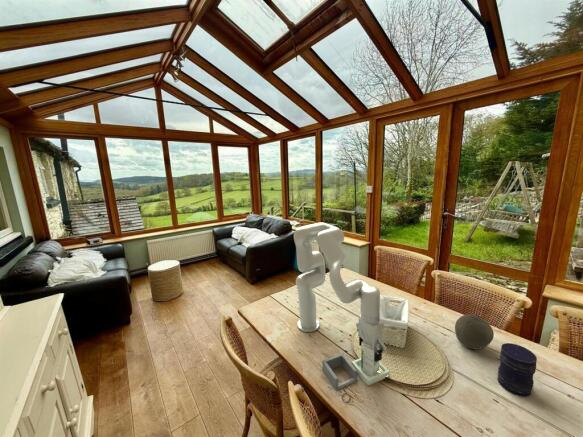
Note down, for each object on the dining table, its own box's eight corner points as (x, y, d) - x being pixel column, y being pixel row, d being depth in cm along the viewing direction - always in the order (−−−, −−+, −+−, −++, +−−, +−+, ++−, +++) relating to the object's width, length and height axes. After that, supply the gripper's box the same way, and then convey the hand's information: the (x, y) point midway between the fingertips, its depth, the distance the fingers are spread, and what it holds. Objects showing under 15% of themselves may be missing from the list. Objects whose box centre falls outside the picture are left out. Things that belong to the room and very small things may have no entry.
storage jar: (495, 386, 91) (499, 353, 88) (498, 370, 98) (502, 339, 95) (531, 403, 84) (537, 367, 81) (532, 385, 91) (537, 351, 88)
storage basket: (378, 316, 139) (378, 293, 136) (408, 323, 131) (409, 299, 129) (371, 342, 118) (371, 316, 115) (407, 352, 111) (408, 324, 108)
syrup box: (366, 362, 105) (366, 334, 103) (379, 369, 101) (380, 340, 99) (360, 370, 101) (360, 341, 98) (374, 378, 97) (374, 347, 94)
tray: (351, 366, 105) (351, 361, 104) (371, 358, 108) (371, 353, 108) (368, 386, 94) (368, 381, 94) (389, 376, 98) (389, 371, 98)
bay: (322, 370, 103) (322, 360, 102) (342, 362, 107) (342, 352, 106) (335, 390, 94) (335, 379, 93) (357, 380, 97) (357, 370, 96)
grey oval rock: (475, 360, 104) (478, 330, 101) (446, 339, 117) (448, 312, 114) (498, 352, 107) (502, 323, 104) (468, 332, 121) (471, 306, 118)
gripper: (349, 307, 103) (350, 342, 106) (377, 331, 87) (377, 370, 90) (363, 303, 106) (363, 336, 109) (393, 325, 90) (392, 363, 93)
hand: (370, 352), depth 100 cm, fingers open, 9 cm apart
